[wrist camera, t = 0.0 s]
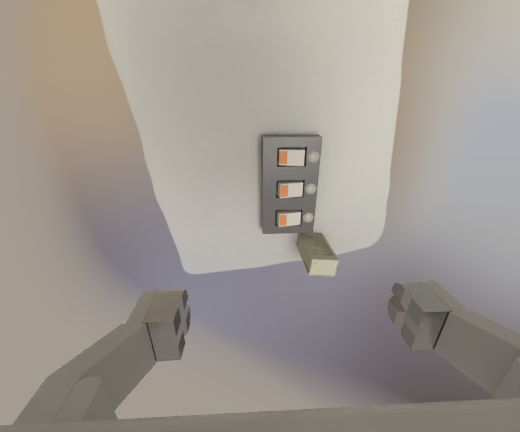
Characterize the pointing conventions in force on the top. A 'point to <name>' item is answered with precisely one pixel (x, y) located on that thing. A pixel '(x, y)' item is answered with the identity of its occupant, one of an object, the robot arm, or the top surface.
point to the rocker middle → (290, 189)
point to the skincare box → (317, 254)
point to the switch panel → (280, 173)
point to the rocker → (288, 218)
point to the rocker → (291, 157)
